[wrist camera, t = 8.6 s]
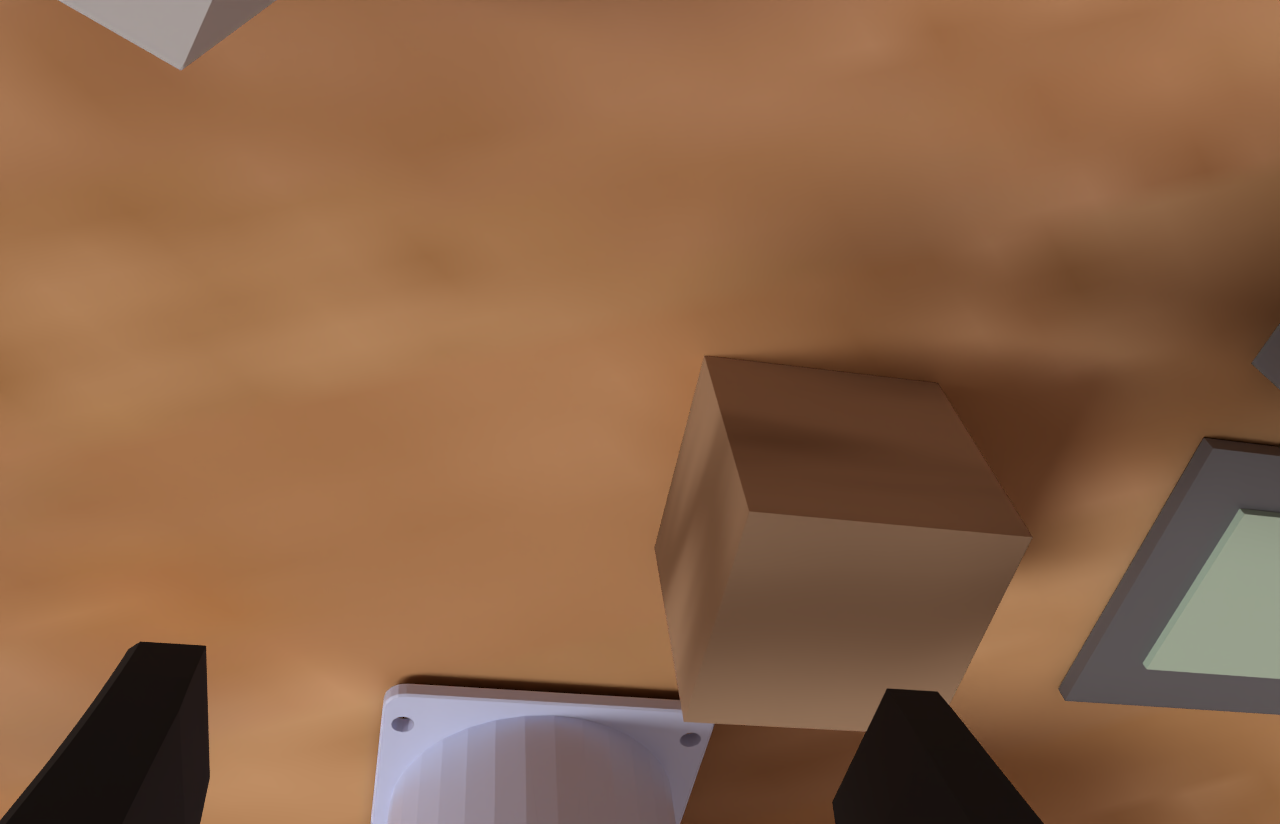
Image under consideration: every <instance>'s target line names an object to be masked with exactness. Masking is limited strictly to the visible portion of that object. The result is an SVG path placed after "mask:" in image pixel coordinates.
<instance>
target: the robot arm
mask: <svg viewBox="0 0 1280 824" xmlns="http://www.w3.org/2000/svg"><path fill="white" fill-rule="evenodd" d="M398 717H407V718H406V719H402V718H398ZM713 728H714V724H713V723H694V722H684V721H683V715H682V709H681V703H680V700H671V699H654V698H638V697H621V696H605V695H588V694H572V693H555V692H539V691H522V690H506V689H489V688H473V687H456V686H440V685H423V684H399V685H396V686H393V687H391V688H390V689H389V690H388V691H386V694H385V696H384V702H383V710H382V720H381V730H380V739H379V749H378V758H377V768H376V777H375V787H374V797H373V806H372V816H371V824H680V823H681V820H682V817H683V814H684V811H685V809H686V806H687V803H688V800H689V797H690V794H691V791H692V788H693V785H694V783H695V780H696V777H697V774H698V771H699V768H700V765H701V762H702V759H703V756H704V754H705V751H706V748H707V745H708V742H709V739H710V736H711V733H712V730H713ZM687 733H691V734H687ZM209 778H210V768H209V734H208V699H207V665H206V646H202V645H186V644H170V643H154V642H139V643H138V644H136V645H134V646H133V647H131V648H130V649H128V651H127V652H126V654H125V656H124V657H123V659H122V660H121V662H120V663H119V665H118V666H117V668H116V669H115V671H114V672H113V674H112V675H111V677H110V678H109V680H108V681H107V682H106V684H105V685H104V687H103V688H102V690H101V691H100V693H99V694H98V695H97V697H96V698H95V700H94V701H93V702H92V704H91V705H90V707H89V708H88V709H87V711H86V712H85V714H84V715H83V716H82V718H81V719H80V720H79V722H78V723H77V724H76V726H75V727H74V728H73V730H72V731H71V732H70V734H69V735H68V736H67V738H66V739H65V740H64V741H63V743H62V744H61V745H60V747H59V748H58V749H57V751H56V752H55V753H54V755H53V756H52V757H51V758H50V760H49V761H48V762H47V764H46V765H45V766H44V767H43V769H42V770H41V771H40V772H39V774H38V775H37V776H36V777H35V779H34V780H33V781H32V782H31V783H30V785H29V786H28V787H27V788H26V790H25V791H24V792H23V793H22V794H21V796H20V797H19V798H18V799H17V801H16V802H15V803H14V804H13V805H12V807H11V808H10V809H9V810H8V812H7V813H6V814H5V815H4V816H3V818H2V819H1V820H0V824H200V821H201V817H202V812H203V807H204V802H205V797H206V793H207V788H208V783H209ZM832 803H833V810H834V817H835V824H1044V823H1043V822H1042V821H1041V820H1040V818H1039V817H1038V816H1037V815H1036V814H1035V812H1034V811H1033V810H1032V809H1031V807H1030V806H1029V805H1028V804H1027V802H1026V801H1025V800H1024V799H1023V797H1022V796H1021V795H1020V794H1019V792H1018V791H1017V790H1016V789H1015V787H1014V786H1013V785H1012V784H1011V782H1010V781H1009V780H1008V779H1007V777H1006V776H1005V775H1004V774H1003V772H1002V771H1001V770H1000V769H999V767H998V766H997V765H996V764H995V762H994V761H993V760H992V759H991V757H990V756H989V755H988V754H987V752H986V751H985V750H984V748H983V747H982V746H981V745H980V743H979V742H978V741H977V740H976V738H975V737H974V736H973V735H972V733H971V732H970V731H969V730H968V728H967V727H966V726H965V724H964V723H963V722H962V721H961V719H960V718H959V717H958V716H957V714H956V713H955V712H954V711H953V709H952V708H951V707H950V706H949V705H948V703H947V702H946V701H945V700H944V699H943V697H942V696H941V695H940V694H939V692H938V691H923V690H906V689H890V688H887V689H886V691H885V694H884V696H883V698H882V700H881V702H880V704H879V706H878V708H877V710H876V712H875V714H874V716H873V719H872V721H871V723H870V725H869V727H868V729H867V731H866V733H865V735H864V737H863V739H862V741H861V743H860V746H859V748H858V750H857V752H856V754H855V756H854V758H853V760H852V762H851V764H850V766H849V768H848V771H847V773H846V775H845V777H844V779H843V781H842V783H841V785H840V787H839V789H838V791H837V793H836V796H835V798H834V800H833V802H832Z"/></svg>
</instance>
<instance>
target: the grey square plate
mask: <svg viewBox="0 0 1280 824" xmlns="http://www.w3.org/2000/svg"><path fill="white" fill-rule="evenodd" d="M1059 691H1060V693H1061V695H1062V696H1063V698H1064V700H1065V701H1077V702H1092V703H1108V704H1123V705H1139V706H1154V707H1169V708H1185V709H1200V710H1216V711H1231V712H1246V713H1262V714H1277V715H1280V447H1276V446H1268V445H1259V444H1251V443H1243V442H1234V441H1226V440H1218V439H1209V438H1203V440H1202V441H1201V443H1200V445H1199V447H1198V448H1197V450H1196V452H1195V453H1194V455H1193V457H1192V459H1191V460H1190V462H1189V464H1188V466H1187V467H1186V469H1185V471H1184V473H1183V474H1182V476H1181V478H1180V479H1179V481H1178V483H1177V485H1176V486H1175V488H1174V490H1173V492H1172V493H1171V495H1170V497H1169V498H1168V500H1167V502H1166V504H1165V505H1164V507H1163V509H1162V511H1161V512H1160V514H1159V516H1158V517H1157V519H1156V521H1155V523H1154V524H1153V526H1152V528H1151V530H1150V531H1149V533H1148V535H1147V536H1146V538H1145V540H1144V542H1143V543H1142V545H1141V547H1140V549H1139V550H1138V552H1137V554H1136V555H1135V557H1134V559H1133V561H1132V562H1131V564H1130V566H1129V568H1128V569H1127V571H1126V573H1125V574H1124V576H1123V578H1122V580H1121V581H1120V583H1119V585H1118V587H1117V588H1116V590H1115V592H1114V593H1113V595H1112V597H1111V599H1110V600H1109V602H1108V604H1107V606H1106V607H1105V609H1104V611H1103V612H1102V614H1101V616H1100V618H1099V619H1098V621H1097V623H1096V625H1095V626H1094V628H1093V630H1092V631H1091V633H1090V635H1089V637H1088V638H1087V640H1086V642H1085V644H1084V645H1083V647H1082V649H1081V650H1080V652H1079V654H1078V656H1077V657H1076V659H1075V661H1074V663H1073V664H1072V666H1071V668H1070V669H1069V671H1068V673H1067V675H1066V676H1065V678H1064V680H1063V682H1062V683H1061V685H1060V687H1059Z"/></svg>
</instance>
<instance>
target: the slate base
mask: <svg viewBox="0 0 1280 824" xmlns="http://www.w3.org/2000/svg"><path fill="white" fill-rule="evenodd" d="M1251 364H1252V365H1254V366H1255V367H1256V368H1257V369H1258V370H1259V371H1260V372H1261V373H1262V374H1263V375H1264V376H1265V377H1267V378H1268V379H1269V380H1270V381H1271V382H1272V383H1273V384H1274V385H1275V386H1276V387H1277V388H1279V389H1280V324H1279V325H1278V326H1277V328H1276V329H1275V331H1274V332H1273V333H1272V335H1271V336H1270V338H1269V339H1268V340H1267V342H1266V343H1265V345H1264V346H1263V348H1262V349H1261V350H1260V352H1259V353H1258V355H1257V356H1256V357H1255V359H1254V360H1253V362H1252V363H1251Z"/></svg>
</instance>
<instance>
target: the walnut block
mask: <svg viewBox="0 0 1280 824" xmlns="http://www.w3.org/2000/svg"><path fill="white" fill-rule="evenodd" d="M1031 539H1032V536H1031V534H1030V532H1029V531H1028V529H1027V528H1026V526H1025V524H1024V523H1023V521H1022V519H1021V518H1020V516H1019V515H1018V513H1017V511H1016V510H1015V508H1014V506H1013V505H1012V503H1011V501H1010V500H1009V498H1008V497H1007V495H1006V493H1005V492H1004V490H1003V488H1002V487H1001V485H1000V484H999V482H998V480H997V479H996V477H995V475H994V474H993V472H992V471H991V469H990V467H989V466H988V464H987V462H986V461H985V459H984V457H983V456H982V454H981V453H980V451H979V449H978V448H977V446H976V444H975V443H974V441H973V440H972V438H971V436H970V435H969V433H968V431H967V430H966V428H965V427H964V425H963V423H962V422H961V420H960V418H959V417H958V415H957V413H956V412H955V410H954V409H953V407H952V405H951V404H950V402H949V400H948V399H947V397H946V396H945V394H944V392H943V391H942V389H941V387H940V386H939V384H938V383H933V382H925V381H916V380H908V379H899V378H891V377H882V376H874V375H865V374H857V373H848V372H840V371H831V370H823V369H814V368H806V367H797V366H789V365H780V364H771V363H763V362H754V361H746V360H737V359H729V358H720V357H712V356H704V358H703V362H702V366H701V370H700V374H699V378H698V382H697V385H696V389H695V393H694V397H693V401H692V405H691V409H690V412H689V416H688V420H687V424H686V428H685V432H684V436H683V440H682V443H681V447H680V451H679V455H678V459H677V463H676V467H675V470H674V474H673V478H672V482H671V486H670V490H669V494H668V497H667V501H666V505H665V509H664V513H663V517H662V521H661V525H660V528H659V532H658V536H657V540H656V544H655V553H656V559H657V565H658V571H659V577H660V583H661V589H662V595H663V601H664V607H665V613H666V619H667V625H668V631H669V637H670V643H671V649H672V655H673V661H674V667H675V673H676V679H677V685H678V691H679V697H680V703H681V709H682V715H683V721H684V722H694V723H713V724H732V725H751V726H770V727H788V728H807V729H826V730H845V731H863V732H866V731H867V729H868V727H869V725H870V723H871V721H872V719H873V716H874V714H875V712H876V710H877V708H878V706H879V704H880V702H881V700H882V698H883V696H884V694H885V691H886V689H887V688H890V689H906V690H923V691H938V692H939V694H940V695H941V696H942V697H943V699H944V700H945V701H946V702H947V703H948V705H949V704H950V702H951V700H952V698H953V696H954V694H955V692H956V690H957V688H958V686H959V684H960V682H961V680H962V678H963V676H964V674H965V672H966V670H967V668H968V666H969V664H970V662H971V660H972V658H973V656H974V654H975V652H976V650H977V648H978V646H979V644H980V642H981V640H982V638H983V636H984V634H985V632H986V630H987V628H988V626H989V624H990V622H991V620H992V618H993V616H994V614H995V612H996V610H997V608H998V606H999V604H1000V602H1001V600H1002V598H1003V596H1004V594H1005V592H1006V590H1007V588H1008V586H1009V584H1010V582H1011V580H1012V578H1013V576H1014V574H1015V572H1016V570H1017V568H1018V566H1019V564H1020V562H1021V560H1022V558H1023V556H1024V553H1025V551H1026V549H1027V547H1028V545H1029V543H1030V541H1031Z"/></svg>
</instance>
